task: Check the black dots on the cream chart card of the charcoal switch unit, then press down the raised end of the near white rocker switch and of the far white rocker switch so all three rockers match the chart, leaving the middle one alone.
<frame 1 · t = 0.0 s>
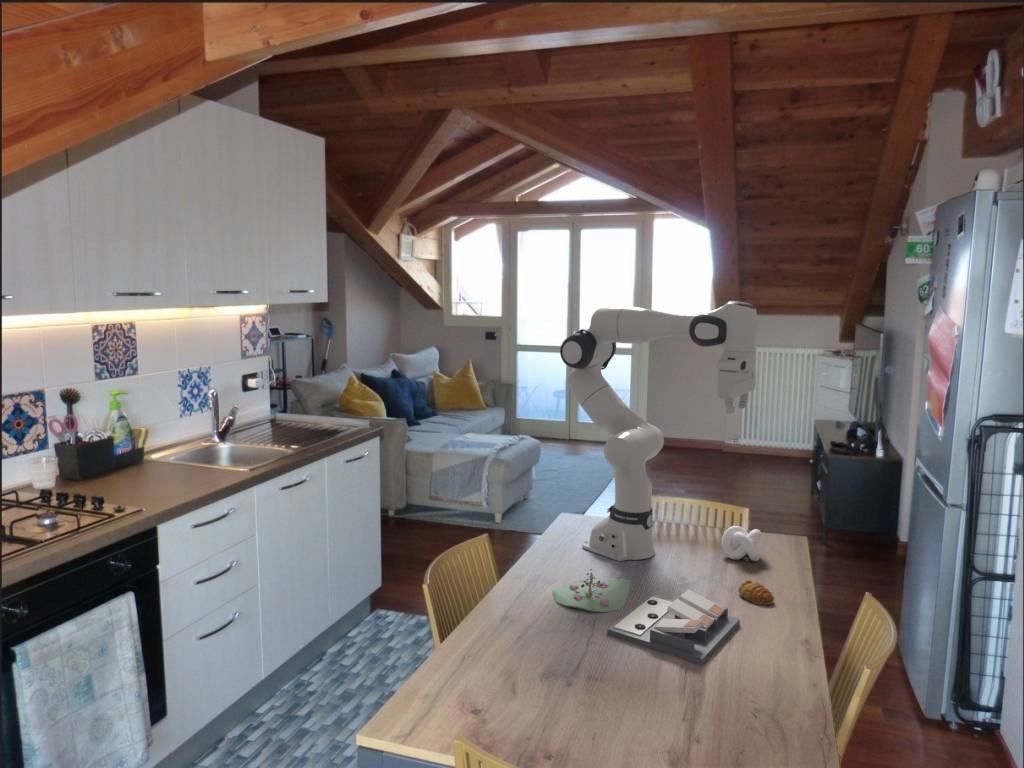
hand: (736, 410, 215), 48 cm above the table, tool pointing down, fingers open, 8 cm apart
switch far: (701, 604, 192), point 5 cm above the table, hinge at 15.0°
plant: (595, 595, 210), on the table
white knot sculpture: (743, 559, 235), on the table
pastry: (755, 598, 208), on the table
switch unit: (674, 629, 190), on the table
switch middle: (690, 614, 187), point 5 cm above the table, hinge at 15.0°
switch near: (678, 625, 181), point 5 cm above the table, hinge at -15.0°
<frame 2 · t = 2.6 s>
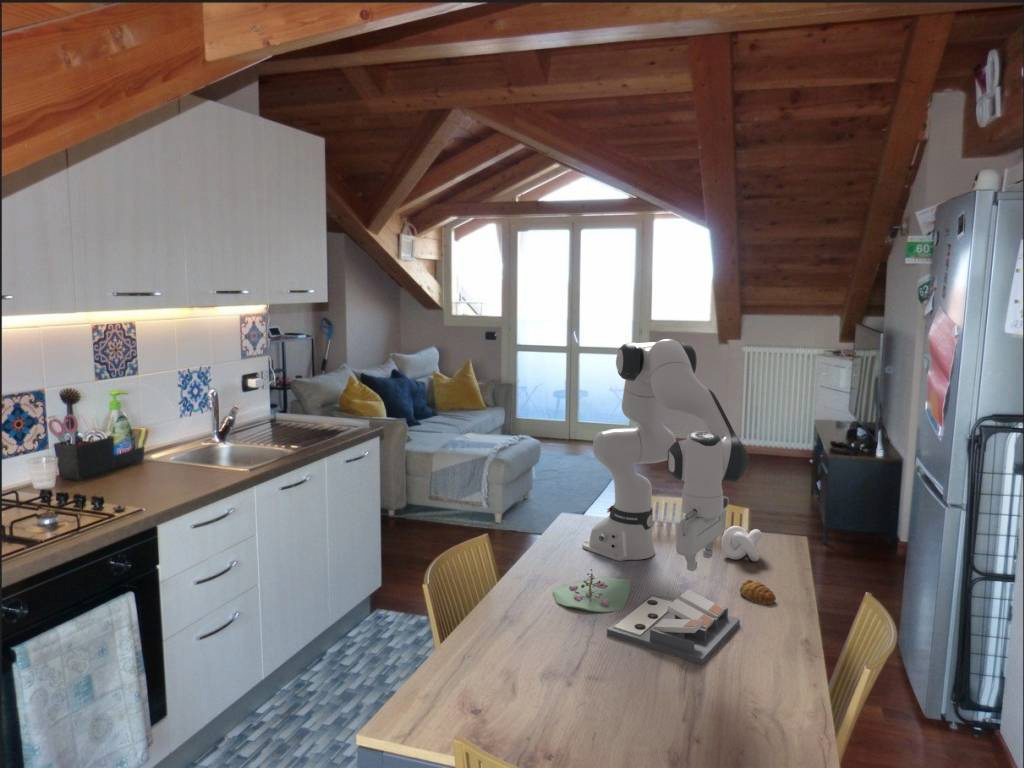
hand: (700, 563, 177), 21 cm above the table, tool pointing down, fingers open, 8 cm apart
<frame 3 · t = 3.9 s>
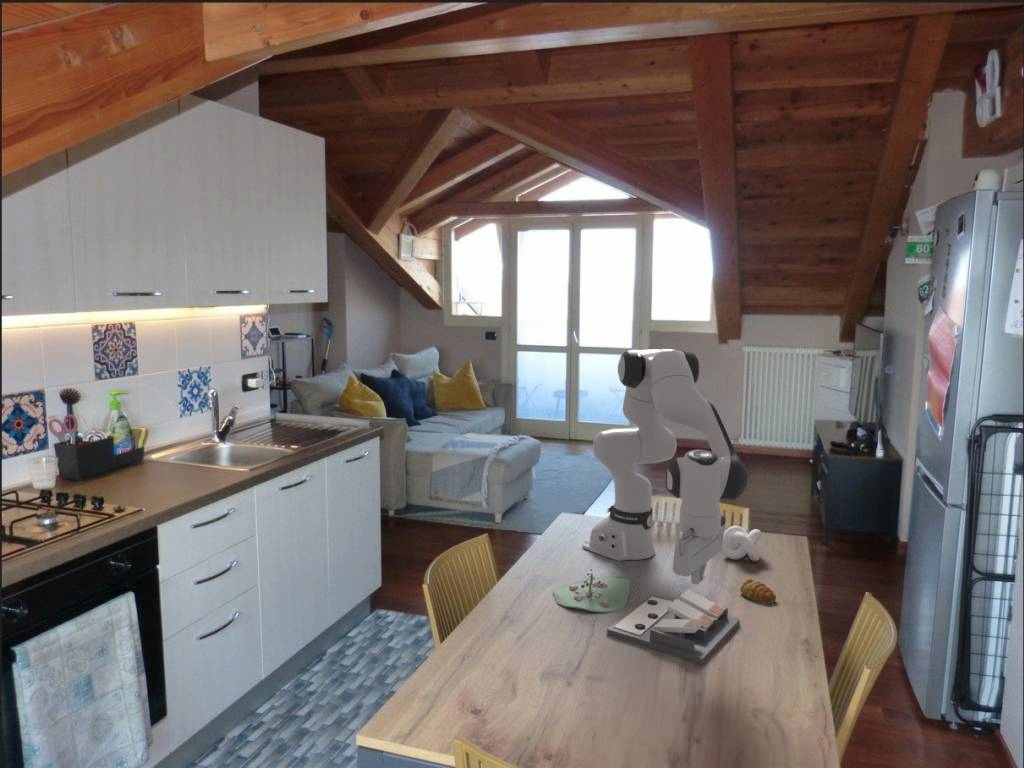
hand: (697, 581, 177), 17 cm above the table, tool pointing down, fingers closed
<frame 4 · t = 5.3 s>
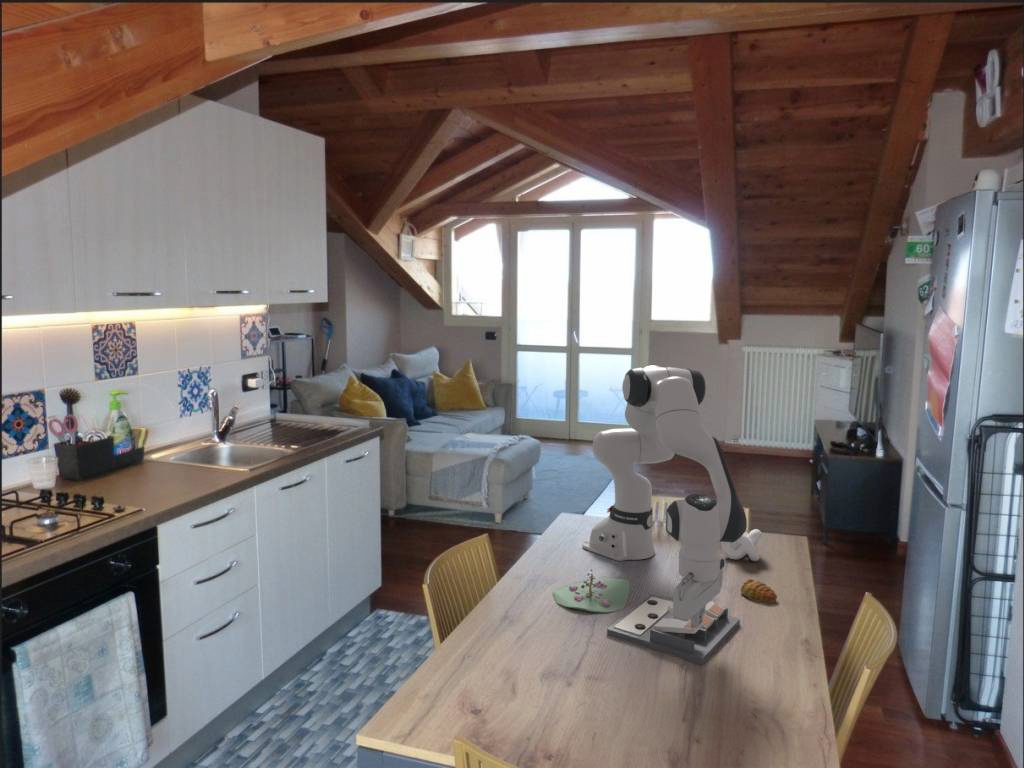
hand: (696, 624, 178), 7 cm above the table, tool pointing down, fingers closed, pressing on switch near
switch near: (678, 625, 181), point 5 cm above the table, hinge at -13.0°, touching gripper
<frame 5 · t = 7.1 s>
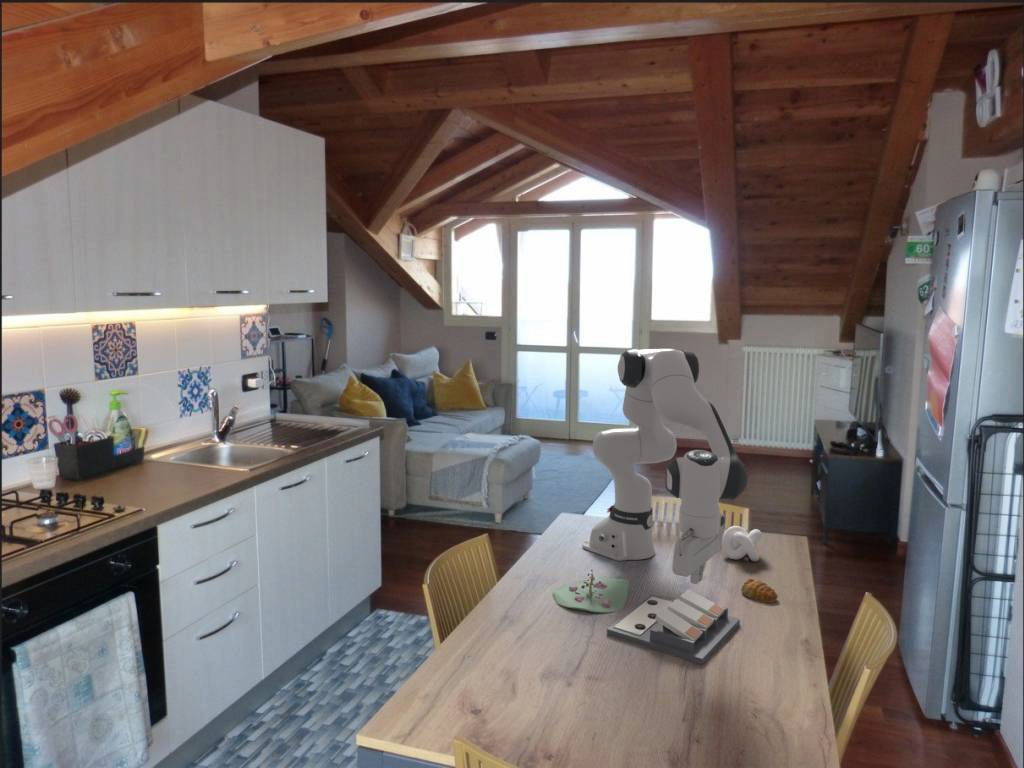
hand: (696, 581, 177), 17 cm above the table, tool pointing down, fingers closed
switch near: (678, 625, 181), point 5 cm above the table, hinge at 19.5°
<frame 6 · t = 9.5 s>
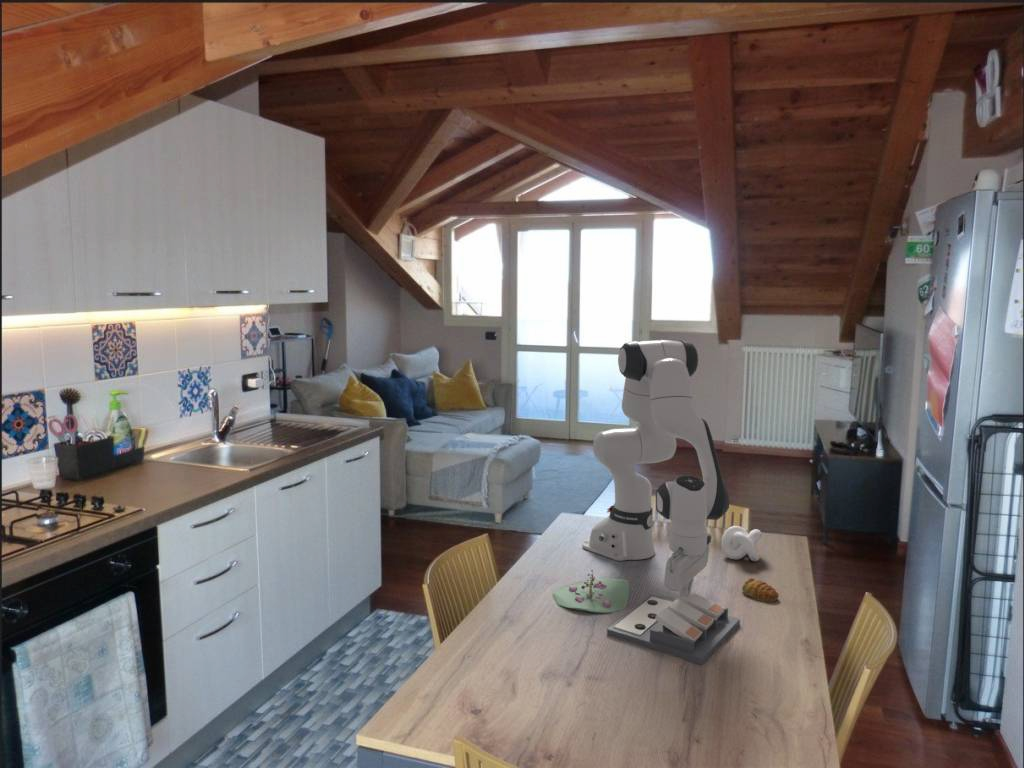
hand: (685, 595, 194), 6 cm above the table, tool pointing down, fingers closed, pressing on switch far
switch far: (701, 604, 192), point 5 cm above the table, hinge at 12.1°, touching gripper
switch near: (678, 625, 181), point 5 cm above the table, hinge at 20.3°
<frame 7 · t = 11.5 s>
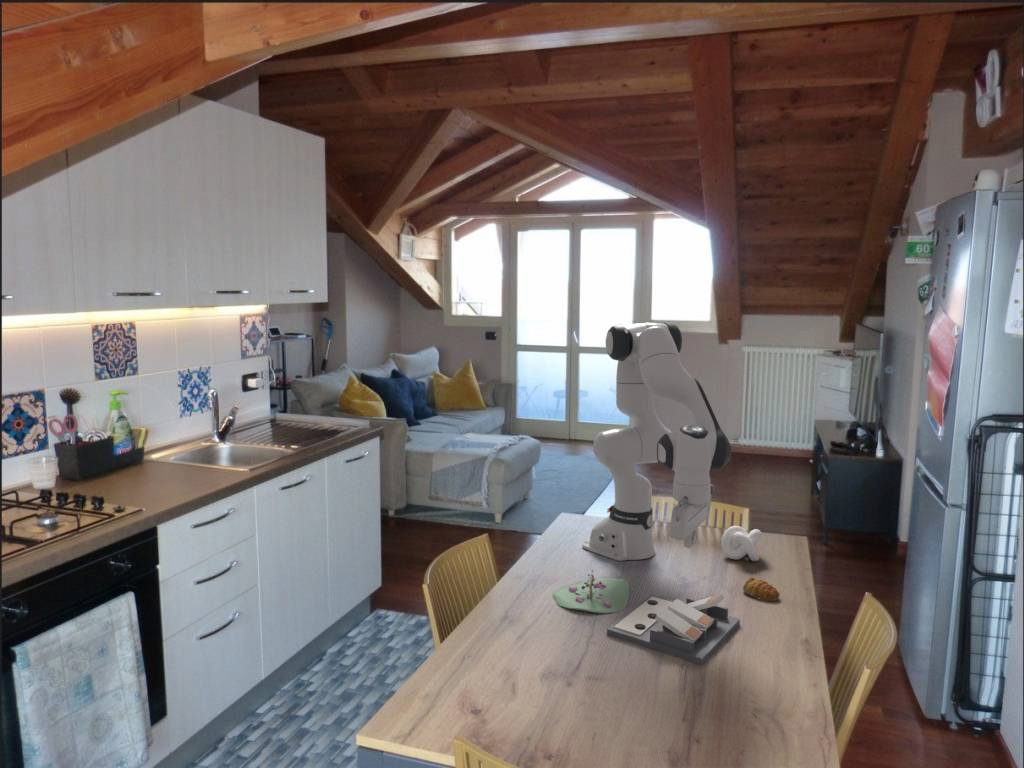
hand: (689, 545, 193), 19 cm above the table, tool pointing down, fingers closed
switch far: (701, 604, 192), point 5 cm above the table, hinge at -29.6°
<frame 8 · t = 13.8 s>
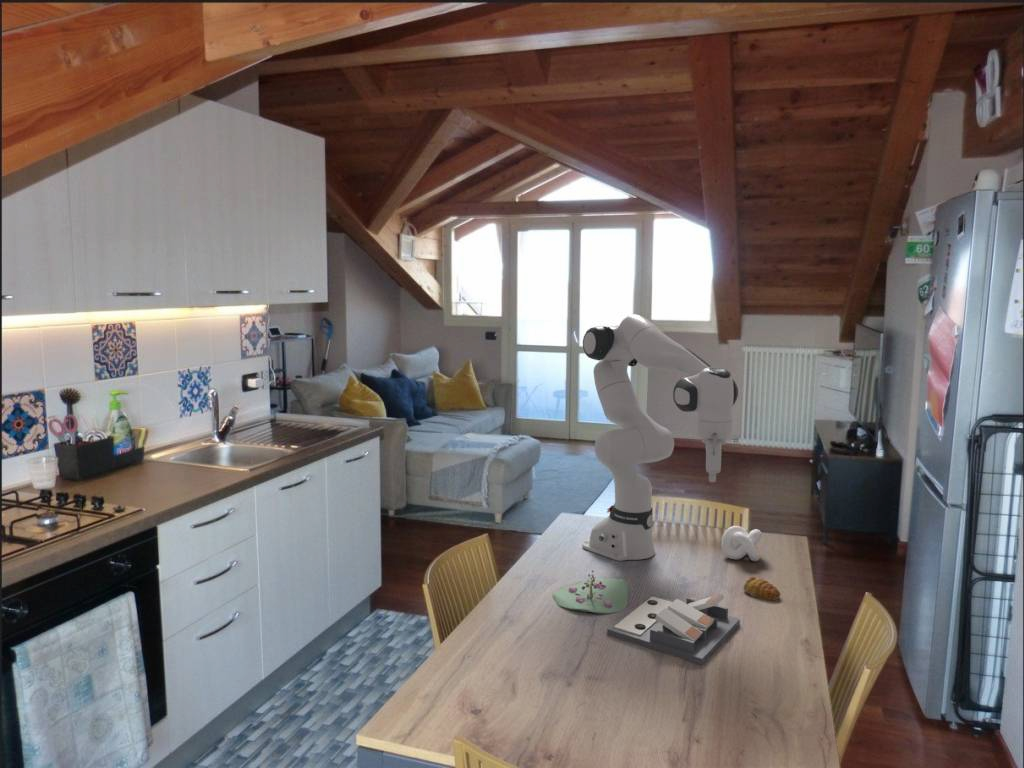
hand: (712, 480, 207), 31 cm above the table, tool pointing down, fingers closed
switch far: (701, 604, 192), point 5 cm above the table, hinge at -30.0°
at the end: switch near at +20° (first picture: -15°); switch middle at +15° (first picture: +15°); switch far at -30° (first picture: +15°) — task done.
